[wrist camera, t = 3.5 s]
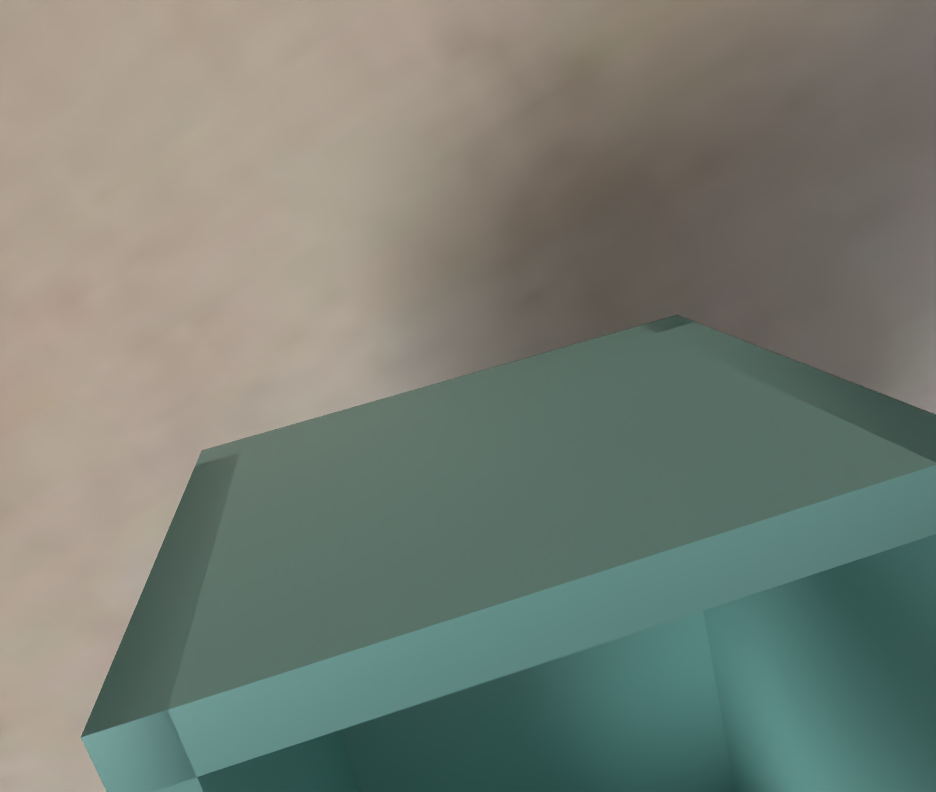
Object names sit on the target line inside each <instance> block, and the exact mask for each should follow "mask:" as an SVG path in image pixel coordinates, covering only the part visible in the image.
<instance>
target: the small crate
mask: <svg viewBox="0 0 936 792" xmlns="http://www.w3.org/2000/svg"><path fill="white" fill-rule="evenodd" d="M81 739H82V741H83V743H84V745H85V747H86V749H87V751H88V753H89V755H90V757H91V760H92V762H93V764H94V766H95V768H96V770H97V772H98V774H99V776H100V778H101V780H102V782H103V785H104V787H105V789H106V791H107V792H936V415H935V414H933V413H930V412H928V411H925V410H922V409H920V408H917V407H915V406H912V405H909V404H907V403H904V402H902V401H899V400H896V399H894V398H891V397H889V396H886V395H884V394H881V393H878V392H876V391H873V390H871V389H868V388H865V387H863V386H860V385H858V384H855V383H852V382H850V381H847V380H845V379H842V378H839V377H837V376H834V375H832V374H829V373H826V372H824V371H821V370H819V369H816V368H813V367H811V366H808V365H806V364H803V363H800V362H798V361H795V360H793V359H790V358H788V357H785V356H782V355H780V354H777V353H775V352H772V351H769V350H767V349H764V348H762V347H759V346H756V345H754V344H751V343H749V342H746V341H743V340H741V339H738V338H736V337H733V336H730V335H728V334H725V333H723V332H720V331H717V330H715V329H712V328H710V327H707V326H705V325H702V324H699V323H697V322H694V321H692V320H689V319H686V318H684V317H681V316H679V315H675V316H672V317H668V318H665V319H661V320H658V321H654V322H651V323H647V324H644V325H640V326H636V327H633V328H629V329H626V330H622V331H619V332H615V333H612V334H608V335H605V336H601V337H598V338H594V339H591V340H587V341H584V342H580V343H577V344H573V345H570V346H566V347H563V348H559V349H556V350H552V351H549V352H545V353H542V354H538V355H535V356H531V357H528V358H524V359H521V360H517V361H514V362H510V363H507V364H503V365H500V366H496V367H493V368H489V369H486V370H482V371H479V372H475V373H472V374H468V375H465V376H461V377H458V378H454V379H451V380H447V381H444V382H440V383H437V384H433V385H430V386H426V387H423V388H419V389H416V390H412V391H409V392H405V393H402V394H398V395H395V396H391V397H388V398H384V399H381V400H377V401H374V402H370V403H367V404H363V405H360V406H356V407H353V408H349V409H345V410H342V411H338V412H335V413H331V414H328V415H324V416H321V417H317V418H314V419H310V420H307V421H303V422H300V423H296V424H293V425H289V426H286V427H282V428H279V429H275V430H272V431H268V432H265V433H261V434H258V435H254V436H251V437H247V438H244V439H240V440H237V441H233V442H230V443H226V444H223V445H219V446H216V447H212V448H209V449H205V450H202V451H201V454H200V456H199V458H198V461H197V463H196V466H195V468H194V470H193V473H192V475H191V477H190V480H189V482H188V485H187V487H186V489H185V492H184V494H183V496H182V499H181V501H180V504H179V506H178V508H177V511H176V513H175V515H174V518H173V520H172V522H171V525H170V527H169V530H168V532H167V534H166V537H165V539H164V541H163V544H162V546H161V549H160V551H159V553H158V556H157V558H156V560H155V563H154V565H153V568H152V570H151V572H150V575H149V577H148V579H147V582H146V584H145V587H144V589H143V591H142V594H141V596H140V598H139V601H138V603H137V606H136V608H135V610H134V613H133V615H132V617H131V620H130V622H129V625H128V627H127V629H126V632H125V634H124V636H123V639H122V641H121V644H120V646H119V648H118V651H117V653H116V655H115V658H114V660H113V662H112V665H111V667H110V670H109V672H108V674H107V677H106V679H105V681H104V684H103V686H102V689H101V691H100V693H99V696H98V698H97V700H96V703H95V705H94V708H93V710H92V712H91V715H90V717H89V719H88V722H87V724H86V727H85V729H84V731H83V734H82V736H81Z"/></svg>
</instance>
